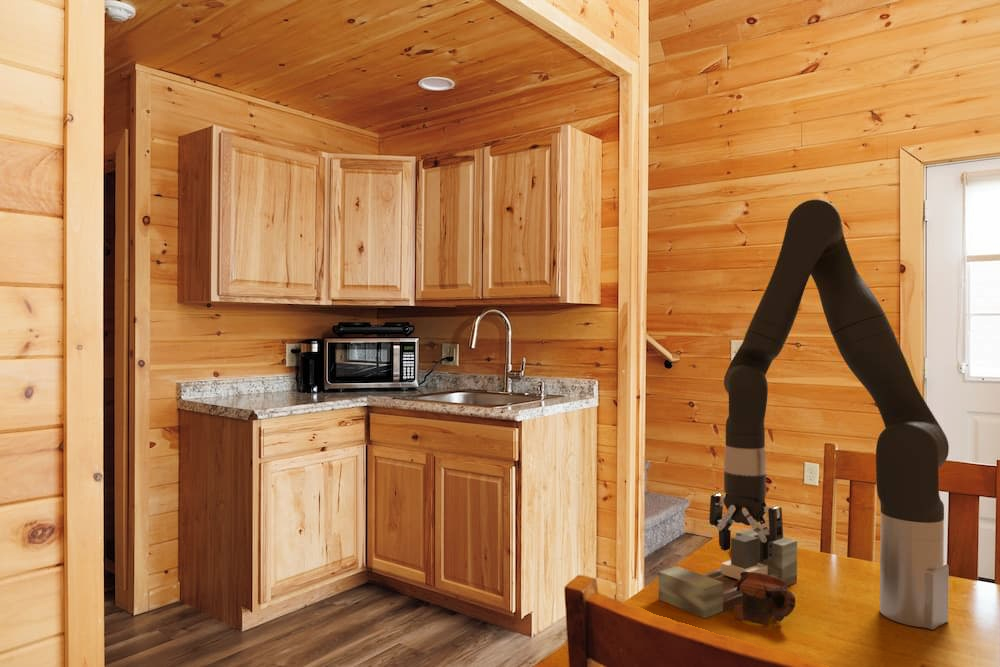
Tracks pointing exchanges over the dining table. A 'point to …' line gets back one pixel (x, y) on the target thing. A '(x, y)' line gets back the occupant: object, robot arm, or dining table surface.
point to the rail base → (722, 581)
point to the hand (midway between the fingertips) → (744, 555)
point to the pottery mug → (763, 598)
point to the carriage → (743, 557)
